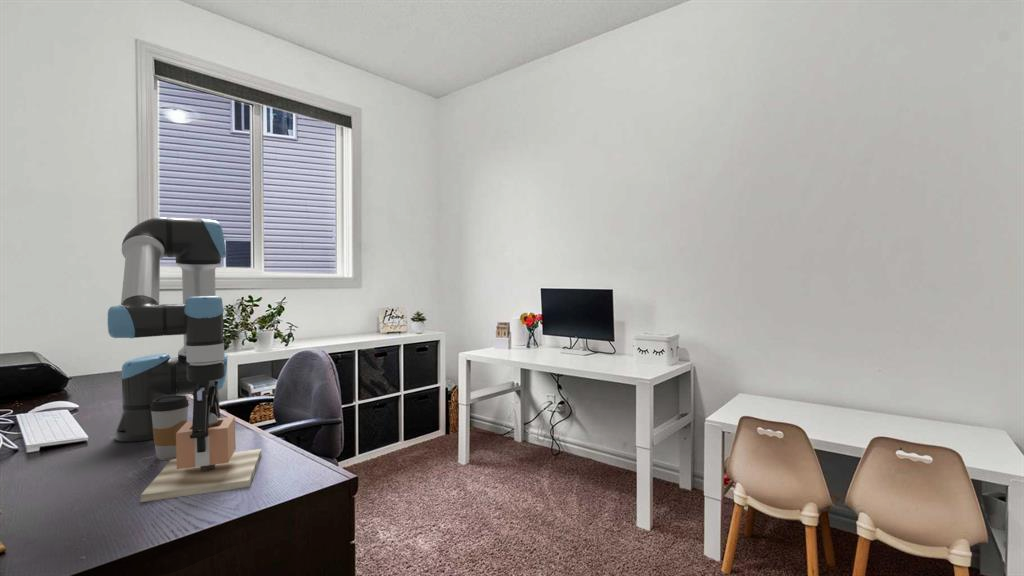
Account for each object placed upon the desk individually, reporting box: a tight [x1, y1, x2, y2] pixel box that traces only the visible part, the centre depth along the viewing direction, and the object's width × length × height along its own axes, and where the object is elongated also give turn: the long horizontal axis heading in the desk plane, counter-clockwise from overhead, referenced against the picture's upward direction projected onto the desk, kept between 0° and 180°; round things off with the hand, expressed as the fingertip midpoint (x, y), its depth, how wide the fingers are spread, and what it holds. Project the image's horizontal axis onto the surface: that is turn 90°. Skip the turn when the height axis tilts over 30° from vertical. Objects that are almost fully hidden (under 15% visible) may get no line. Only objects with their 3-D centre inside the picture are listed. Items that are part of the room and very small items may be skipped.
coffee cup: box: [150, 395, 190, 461], centre depth 130 cm, size 8×8×15 cm
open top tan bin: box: [176, 416, 237, 469], centre depth 117 cm, size 10×10×8 cm
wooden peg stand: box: [140, 413, 262, 503], centre depth 117 cm, size 22×20×15 cm
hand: (207, 457), depth 117 cm, fingers closed on open top tan bin, 10 cm apart
